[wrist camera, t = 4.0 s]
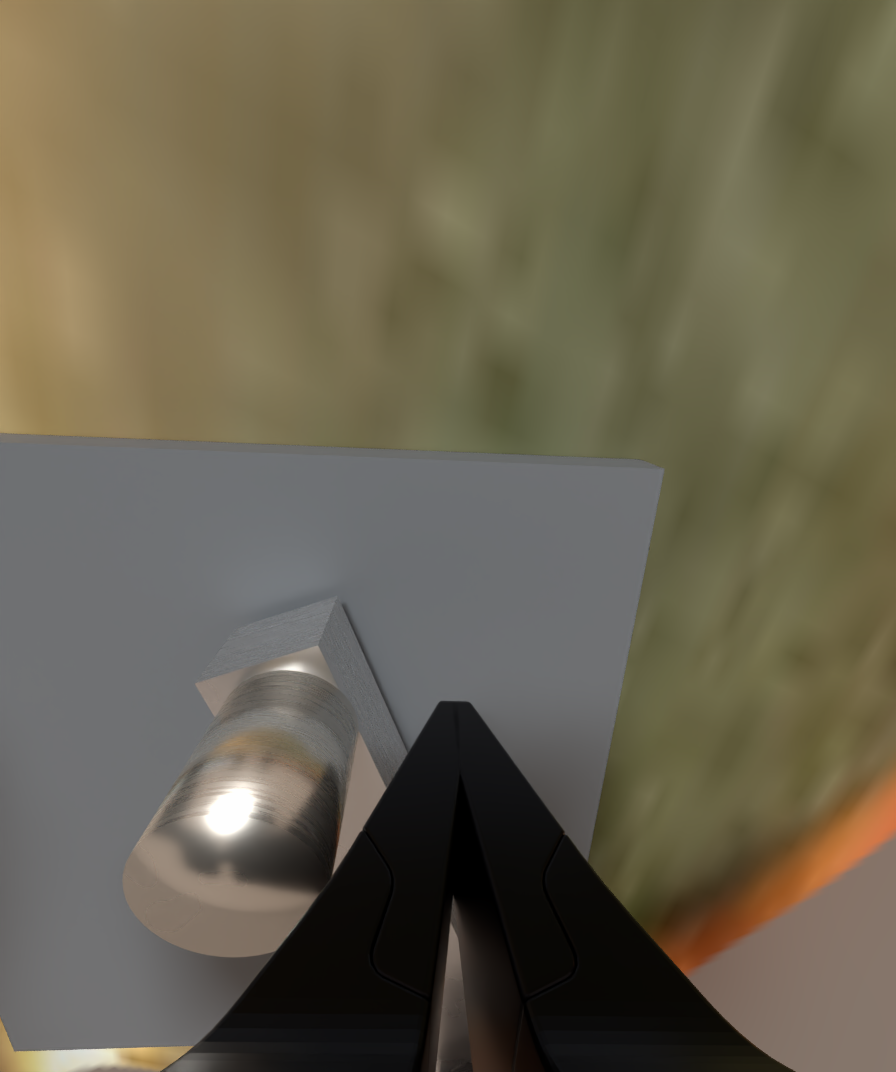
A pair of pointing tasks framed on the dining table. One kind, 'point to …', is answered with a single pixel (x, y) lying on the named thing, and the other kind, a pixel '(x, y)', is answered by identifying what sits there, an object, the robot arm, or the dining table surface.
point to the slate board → (249, 596)
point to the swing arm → (276, 798)
